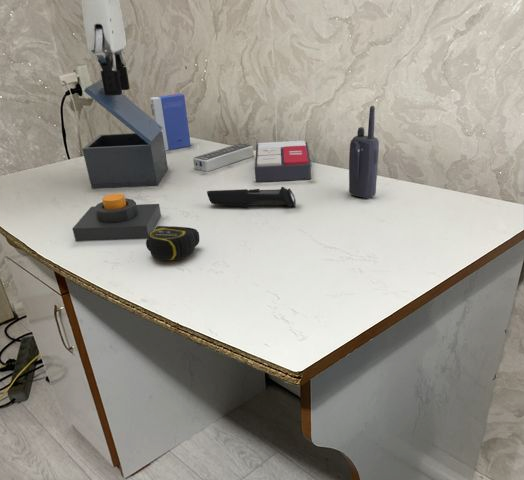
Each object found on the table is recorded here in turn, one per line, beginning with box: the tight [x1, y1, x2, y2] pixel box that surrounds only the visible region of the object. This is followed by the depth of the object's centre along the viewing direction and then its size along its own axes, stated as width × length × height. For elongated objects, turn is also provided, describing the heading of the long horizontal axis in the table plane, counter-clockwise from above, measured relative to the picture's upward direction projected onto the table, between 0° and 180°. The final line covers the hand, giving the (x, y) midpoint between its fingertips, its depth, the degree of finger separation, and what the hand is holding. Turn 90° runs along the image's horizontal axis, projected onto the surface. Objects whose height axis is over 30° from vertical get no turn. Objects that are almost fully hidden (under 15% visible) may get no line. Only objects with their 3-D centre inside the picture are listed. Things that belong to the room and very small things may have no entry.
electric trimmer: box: [206, 186, 297, 208], centre depth 94 cm, size 4×16×3 cm, turn 84°
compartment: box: [81, 132, 169, 189], centre depth 111 cm, size 14×12×8 cm
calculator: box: [254, 140, 312, 183], centre depth 111 cm, size 11×4×15 cm
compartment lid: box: [83, 69, 163, 144], centre depth 104 cm, size 14×12×5 cm
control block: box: [72, 197, 162, 242], centre depth 89 cm, size 12×10×4 cm
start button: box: [101, 192, 127, 210], centre depth 87 cm, size 4×4×2 cm
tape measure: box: [145, 225, 200, 261], centre depth 78 cm, size 7×7×4 cm
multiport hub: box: [192, 142, 254, 173], centre depth 118 cm, size 4×14×2 cm, turn 136°
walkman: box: [149, 92, 192, 152], centre depth 129 cm, size 8×3×12 cm, turn 117°
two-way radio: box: [348, 105, 380, 199], centre depth 92 cm, size 6×4×15 cm
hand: (117, 91), depth 103 cm, fingers closed on compartment lid, 5 cm apart
